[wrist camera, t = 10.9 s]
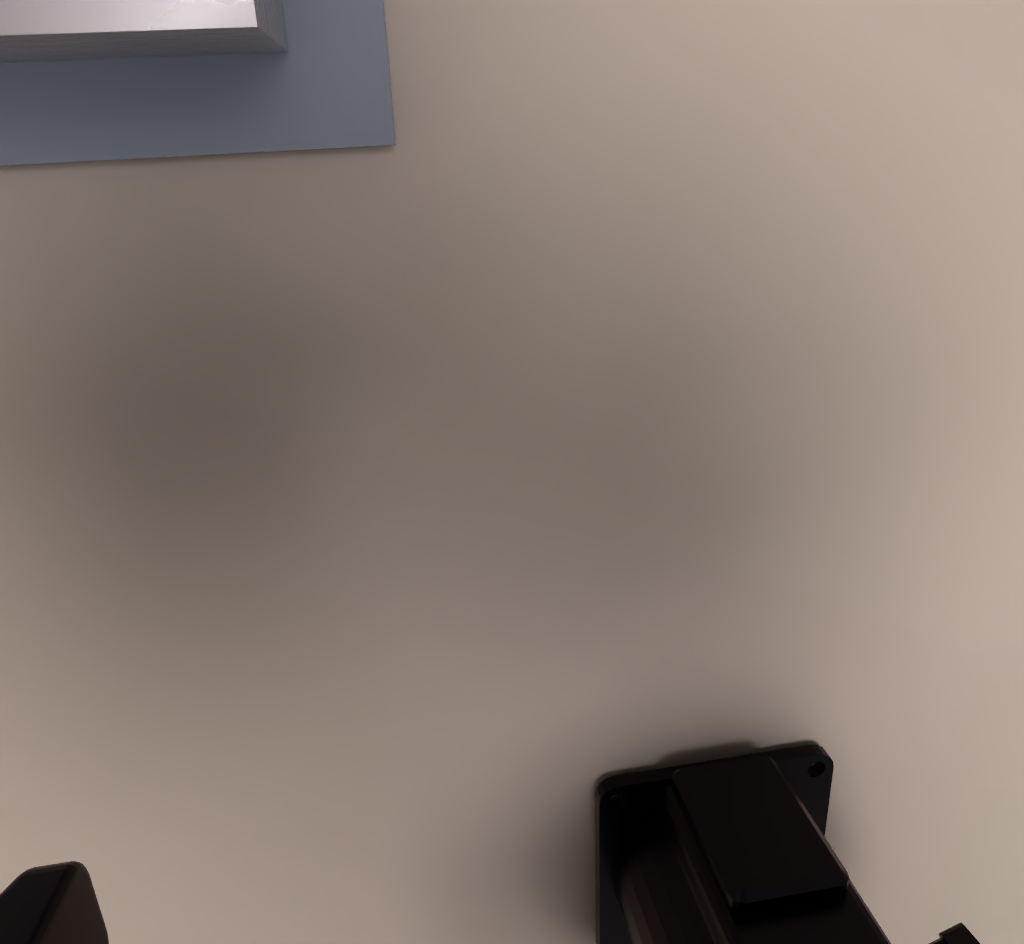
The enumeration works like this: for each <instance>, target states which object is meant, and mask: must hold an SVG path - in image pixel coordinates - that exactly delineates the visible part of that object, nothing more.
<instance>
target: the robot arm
mask: <svg viewBox="0 0 1024 944" xmlns="http://www.w3.org/2000/svg"><path fill="white" fill-rule="evenodd" d="M813 763H815V764H814V765H812V766H810V765H811V764H813ZM832 774H833V761H832V759H831V758H830V757H829V755H828V754H827V753H826V751H825V750H824V749H823V747H821V746H819V745H807V746H800V747H794V748H788V749H781V750H775V751H769V752H762V753H756V754H750V755H744V756H737V757H731V758H725V759H718V760H712V761H706V762H699V763H693V764H687V765H680V766H674V767H668V768H661V769H655V770H649V771H643V772H636V773H630V774H624V775H617V776H612V777H609V778H606V779H605V780H604V781H602V782H601V783H600V784H599V786H598V787H597V789H596V793H595V827H596V943H597V944H891V943H890V941H889V940H888V938H887V937H886V935H885V934H884V932H883V930H882V929H881V927H880V926H879V924H878V923H877V921H876V920H875V918H874V916H873V915H872V913H871V912H870V910H869V909H868V907H867V906H866V904H865V902H864V901H863V899H862V898H861V896H860V895H859V893H858V892H857V890H856V889H855V887H854V885H853V884H852V882H851V881H850V879H849V876H848V873H847V871H846V870H845V868H844V866H843V865H842V863H841V862H840V860H839V859H838V857H837V856H836V854H835V853H834V851H833V849H832V848H831V846H830V845H829V843H828V842H827V840H826V839H825V837H824V835H825V828H826V820H827V812H828V805H829V797H830V790H831V782H832ZM617 794H621V795H620V796H619V797H616V798H611V797H613V796H614V795H617ZM939 936H940V938H939V939H937V940H935V941H933V942H931V943H929V944H980V943H979V942H978V941H977V939H976V938H975V937H974V936H973V935H972V934H971V933H970V931H969V930H968V929H967V928H966V927H965V926H964V925H963V924H962V923H959V924H957V925H955V926H953V927H951V928H949V929H947V930H945V931H943V932H941V933H939ZM0 944H109V941H108V934H107V930H106V927H105V923H104V920H103V917H102V914H101V911H100V907H99V904H98V901H97V898H96V894H95V891H94V888H93V885H92V882H91V878H90V875H89V873H88V871H87V869H86V867H85V866H84V865H83V864H82V863H80V862H75V861H71V862H65V863H59V864H52V865H46V866H40V867H34V868H31V869H28V870H26V871H25V872H23V873H22V874H20V875H19V876H18V877H17V878H16V879H15V880H14V881H13V882H12V883H11V884H10V885H9V886H8V887H7V888H6V889H5V890H4V891H3V892H2V893H1V894H0Z"/></svg>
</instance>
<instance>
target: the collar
mask: <svg viewBox="0 0 1024 944" xmlns="http://www.w3.org/2000/svg"><path fill="white" fill-rule="evenodd" d="M285 52H289V47H288V39H287V31H286V23H285V15H284V8H283V0H0V63H22V62H49V61H75V60H101V59H128V58H154V57H180V56H207V55H233V54H259V53H285Z"/></svg>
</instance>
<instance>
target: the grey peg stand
mask: <svg viewBox="0 0 1024 944" xmlns="http://www.w3.org/2000/svg"><path fill="white" fill-rule="evenodd" d="M283 8H284V15H285V23H286V31H287V39H288V47H289V52H285V53H259V54H233V55H207V56H180V57H154V58H128V59H101V60H75V61H49V62H22V63H0V166H5V165H24V164H43V163H62V162H81V161H100V160H119V159H138V158H158V157H177V156H196V155H215V154H234V153H253V152H272V151H291V150H310V149H329V148H348V147H367V146H386V145H396V142H395V130H394V119H393V108H392V96H391V85H390V73H389V62H388V50H387V39H386V27H385V16H384V5H383V0H283Z"/></svg>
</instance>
